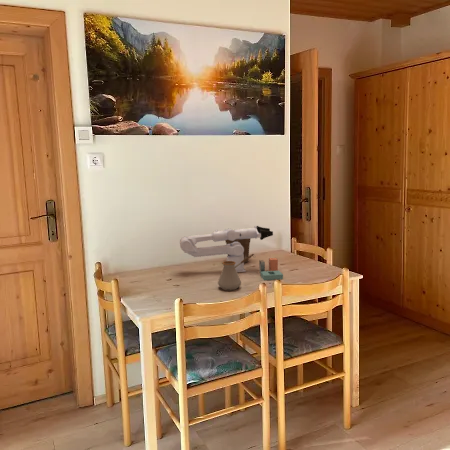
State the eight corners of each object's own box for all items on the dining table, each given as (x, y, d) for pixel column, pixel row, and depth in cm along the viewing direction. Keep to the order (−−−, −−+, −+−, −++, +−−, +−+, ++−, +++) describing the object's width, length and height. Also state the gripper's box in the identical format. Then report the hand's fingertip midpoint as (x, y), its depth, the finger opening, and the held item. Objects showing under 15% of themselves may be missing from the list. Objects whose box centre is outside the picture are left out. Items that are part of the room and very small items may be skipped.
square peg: (270, 272, 253) (270, 260, 252) (268, 270, 257) (268, 258, 256) (277, 272, 254) (277, 259, 253) (275, 270, 258) (275, 257, 257)
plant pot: (222, 259, 285) (222, 233, 283) (248, 257, 288) (247, 232, 285) (227, 265, 269) (226, 238, 267) (254, 264, 272) (254, 237, 269)
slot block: (264, 280, 239) (264, 275, 238) (260, 276, 246) (260, 271, 246) (282, 279, 240) (282, 274, 240) (278, 275, 248) (278, 270, 247)
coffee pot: (226, 293, 219) (225, 262, 217) (213, 287, 228) (212, 257, 226) (261, 285, 231) (261, 255, 228) (248, 279, 240) (247, 251, 238)
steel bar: (261, 274, 249) (261, 262, 248) (259, 272, 254) (259, 260, 252) (264, 274, 249) (264, 261, 248) (263, 272, 254) (262, 259, 253)
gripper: (249, 229, 248) (274, 227, 250) (244, 223, 262) (268, 222, 264) (249, 241, 249) (274, 240, 251) (245, 236, 263) (268, 234, 265)
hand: (271, 231), depth 257 cm, fingers open, 7 cm apart
